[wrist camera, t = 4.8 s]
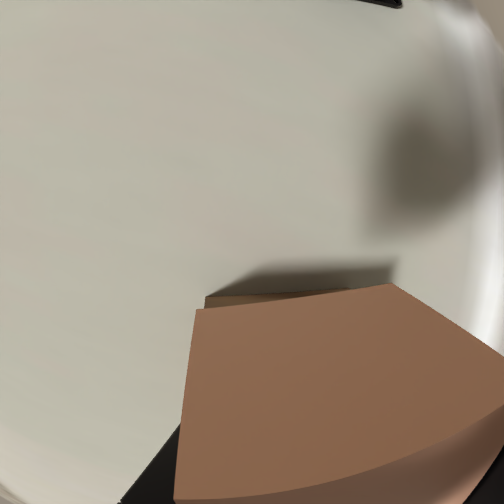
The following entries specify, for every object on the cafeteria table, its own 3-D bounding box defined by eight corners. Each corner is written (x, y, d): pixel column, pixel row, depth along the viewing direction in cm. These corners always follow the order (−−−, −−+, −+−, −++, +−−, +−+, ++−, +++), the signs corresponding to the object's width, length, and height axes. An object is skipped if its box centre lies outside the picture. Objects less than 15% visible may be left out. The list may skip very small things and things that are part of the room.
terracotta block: (391, 282, 7) (536, 380, 3) (373, 419, 9) (440, 528, 4) (196, 309, 7) (173, 499, 2) (224, 448, 8) (235, 586, 3)
